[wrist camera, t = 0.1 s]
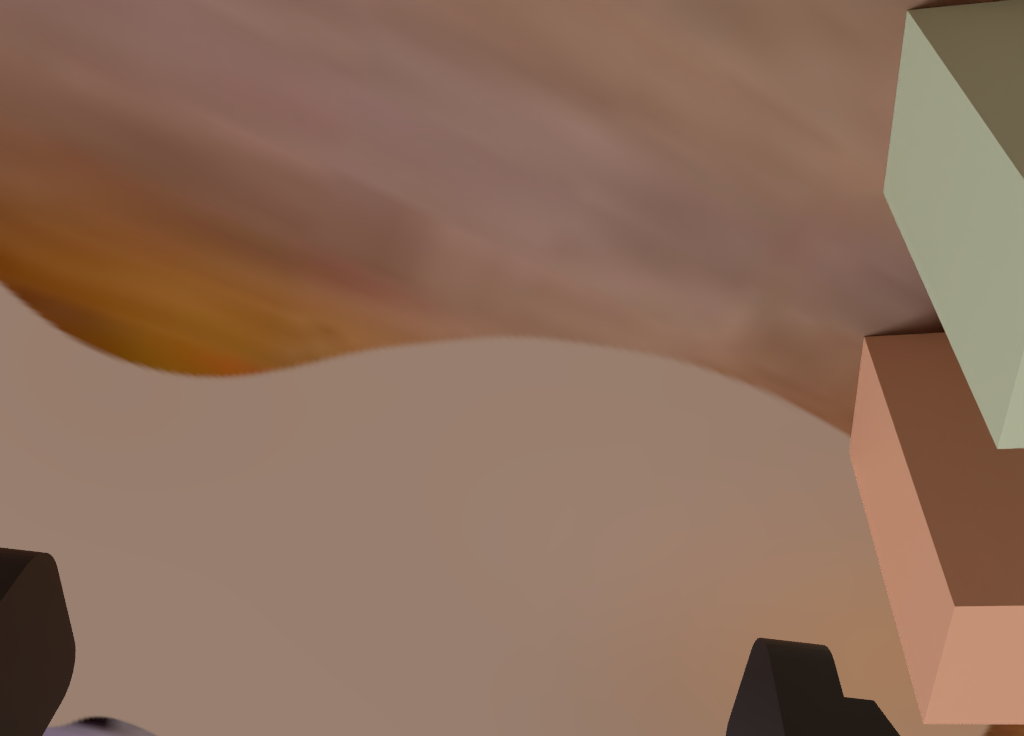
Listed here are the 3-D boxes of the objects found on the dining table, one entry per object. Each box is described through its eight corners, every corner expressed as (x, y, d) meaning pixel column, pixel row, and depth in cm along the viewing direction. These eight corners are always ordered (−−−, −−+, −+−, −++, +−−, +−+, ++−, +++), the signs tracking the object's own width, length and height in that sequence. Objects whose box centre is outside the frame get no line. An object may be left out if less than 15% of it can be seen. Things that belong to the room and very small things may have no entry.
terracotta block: (849, 452, 39) (923, 723, 30) (864, 336, 35) (955, 606, 26) (1005, 447, 38) (1131, 724, 29) (1037, 327, 34) (1195, 603, 25)
